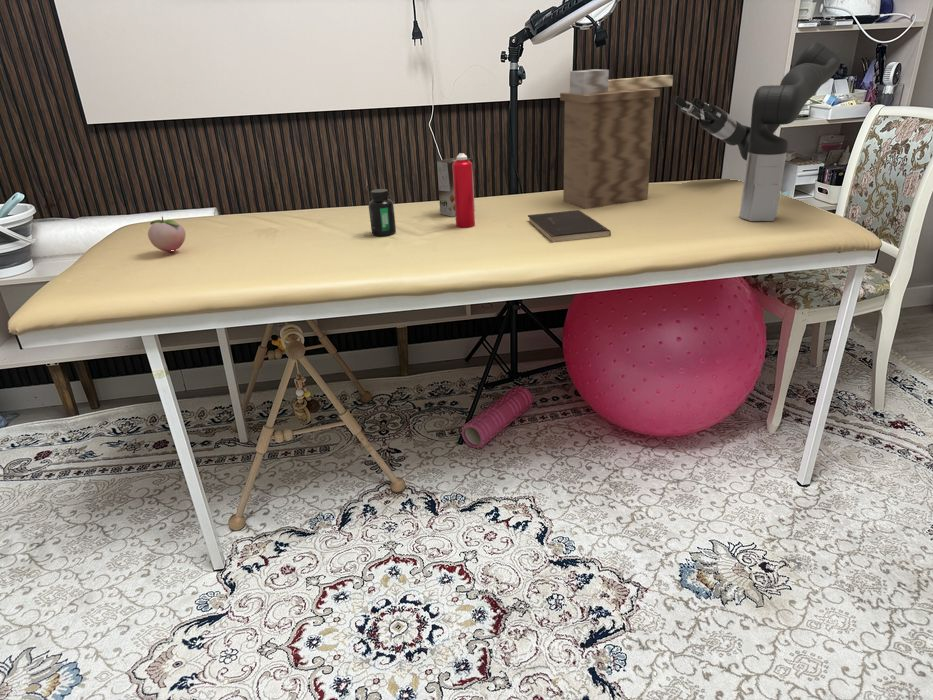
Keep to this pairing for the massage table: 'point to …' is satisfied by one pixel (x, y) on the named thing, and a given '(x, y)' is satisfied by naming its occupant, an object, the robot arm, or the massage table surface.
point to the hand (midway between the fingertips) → (684, 99)
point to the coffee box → (447, 186)
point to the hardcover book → (568, 226)
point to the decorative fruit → (166, 235)
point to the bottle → (463, 192)
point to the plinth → (607, 146)
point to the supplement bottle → (381, 213)
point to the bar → (612, 82)
